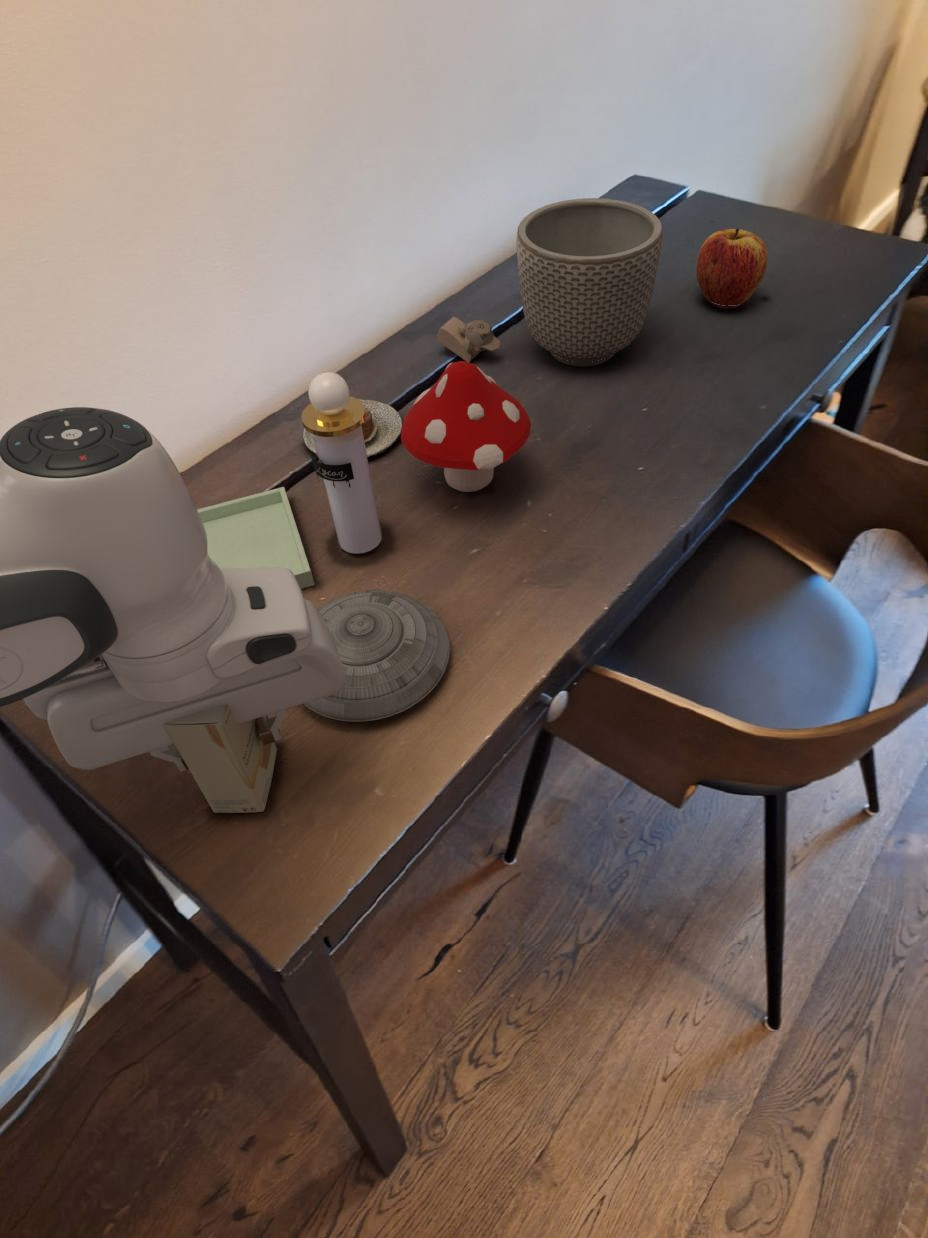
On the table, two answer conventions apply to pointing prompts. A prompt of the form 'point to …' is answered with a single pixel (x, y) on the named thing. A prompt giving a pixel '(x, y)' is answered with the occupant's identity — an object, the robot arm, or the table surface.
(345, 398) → the perfume bottle
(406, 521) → the table surface
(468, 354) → the toy character
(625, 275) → the planter
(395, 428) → the grey speckled shallow bowl
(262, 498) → the tray
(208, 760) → the cosmetic box
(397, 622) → the flying saucer
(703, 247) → the apple
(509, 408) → the decorative mushroom
